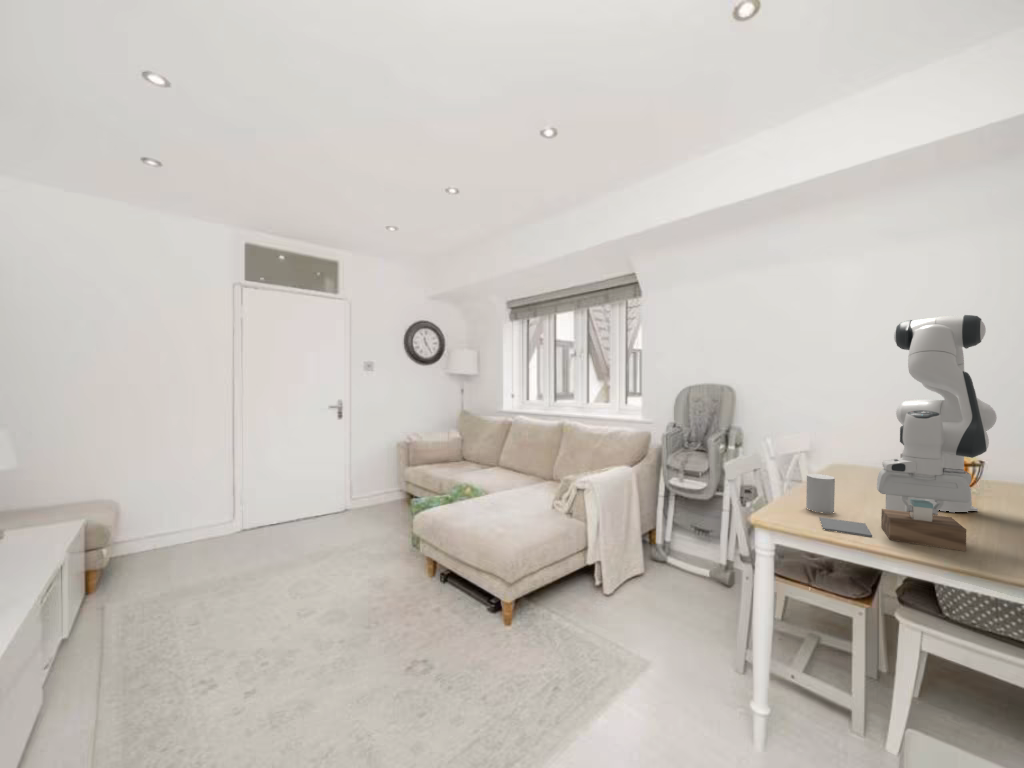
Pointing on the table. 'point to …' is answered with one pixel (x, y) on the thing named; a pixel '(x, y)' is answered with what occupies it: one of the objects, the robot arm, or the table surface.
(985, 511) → the table surface
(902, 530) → the block
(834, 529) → the mat
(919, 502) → the plug
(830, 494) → the cup
